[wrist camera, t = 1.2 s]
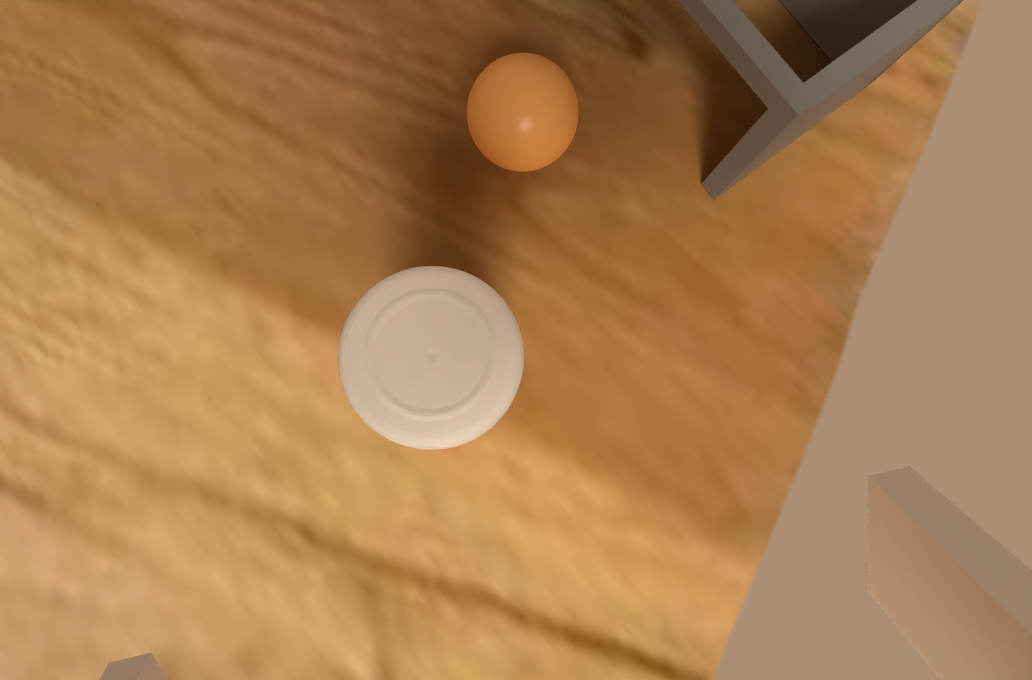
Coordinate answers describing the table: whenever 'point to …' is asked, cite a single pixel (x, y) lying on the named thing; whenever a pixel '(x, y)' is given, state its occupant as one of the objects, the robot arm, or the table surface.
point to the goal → (799, 106)
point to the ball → (522, 112)
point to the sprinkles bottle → (431, 357)
